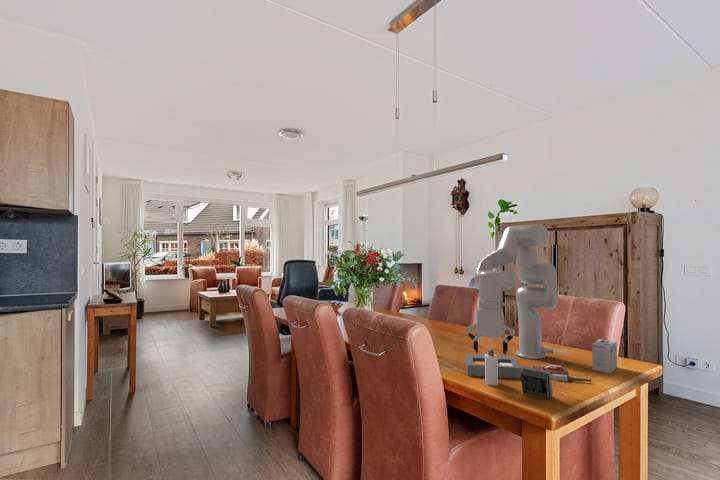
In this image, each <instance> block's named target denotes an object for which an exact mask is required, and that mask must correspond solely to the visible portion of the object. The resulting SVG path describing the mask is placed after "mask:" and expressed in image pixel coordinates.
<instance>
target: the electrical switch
mask: <svg viewBox="0 0 720 480" xmlns="http://www.w3.org/2000/svg"><path fill="white" fill-rule="evenodd" d="M520 371H521V379H520V382H521V389H522V391H521V392H522V395H524V394H526V395H525V396H528V395H531V396H530V397H533V396H535V397H534V398H537V397H539V398H538V399H542V398H543V400H547V399H548V400H549V398H552V397H553V395H554V393H553V384H552V383H553V382H552V379H551V373H550V372H549V371H547V370H541V369H535V368H533V367H530V366H522V365H521V368H520Z"/></svg>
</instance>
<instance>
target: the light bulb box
mask: <svg viewBox="0 0 720 480" xmlns="http://www.w3.org/2000/svg"><path fill="white" fill-rule="evenodd" d="M617 346H618V343H617V341H616V340H606V339H599V338H598V339H597V340H596V341H594V342H593V343H592V344H591V357H592V358H591V361H592V366H591V367H592V371H597V372H602V373H606V374H612V373H613V372H614V371H615V370H616V369H617V368H618V350H617V348H618V347H617Z"/></svg>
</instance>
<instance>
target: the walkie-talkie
mask: <svg viewBox="0 0 720 480" xmlns="http://www.w3.org/2000/svg"><path fill="white" fill-rule="evenodd" d="M532 368H535V369H541V370H547V371H549V372H550V373H551V381H556V382H565V383H568V381H570V382H571V381H573V382H574V381H575V382H590V383H591V382H592V379H591V378H590V379H589V378H582V377H581V378H579V377H572V376H570V375H569V371H568V370H566V368H564V367H563V366H562V365H558V364H549V365H547V366H544V364H541V366H540V365H539V366H538V365H532Z"/></svg>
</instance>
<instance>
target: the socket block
mask: <svg viewBox="0 0 720 480" xmlns="http://www.w3.org/2000/svg"><path fill="white" fill-rule="evenodd" d="M497 357H498V378H503V379H517V380H518V379H520V380H521V371H520V368H521V367H522V365H521V364H520V362H519V361H518V360H517V358H516V356H513V355H512V356H511V355H497ZM464 365H465V369H466V374H467V376H469V377H484V378H485V354H473V353H472V354H471V353H465V354H464Z"/></svg>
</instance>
